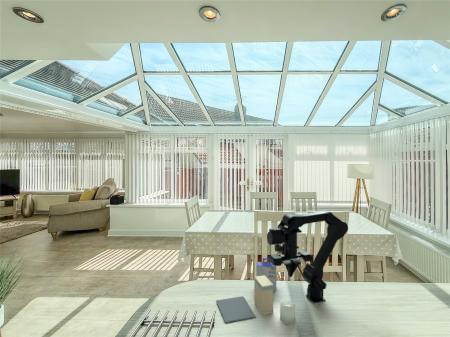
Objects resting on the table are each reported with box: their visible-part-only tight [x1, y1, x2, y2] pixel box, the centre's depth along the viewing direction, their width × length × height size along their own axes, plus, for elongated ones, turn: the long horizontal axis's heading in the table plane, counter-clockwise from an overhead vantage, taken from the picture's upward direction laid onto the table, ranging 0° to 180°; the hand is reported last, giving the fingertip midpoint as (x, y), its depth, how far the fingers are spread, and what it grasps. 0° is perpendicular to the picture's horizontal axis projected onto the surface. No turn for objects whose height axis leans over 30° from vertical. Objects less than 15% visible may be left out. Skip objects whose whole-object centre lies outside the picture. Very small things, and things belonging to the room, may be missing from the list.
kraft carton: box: [253, 275, 274, 315], centre depth 114 cm, size 5×9×12 cm, turn 15°
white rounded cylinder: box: [279, 300, 296, 325], centre depth 106 cm, size 6×6×6 cm
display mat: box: [216, 295, 257, 324], centre depth 113 cm, size 13×16×1 cm
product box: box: [255, 257, 277, 292], centre depth 131 cm, size 10×6×14 cm, turn 81°
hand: (290, 276), depth 117 cm, fingers closed
